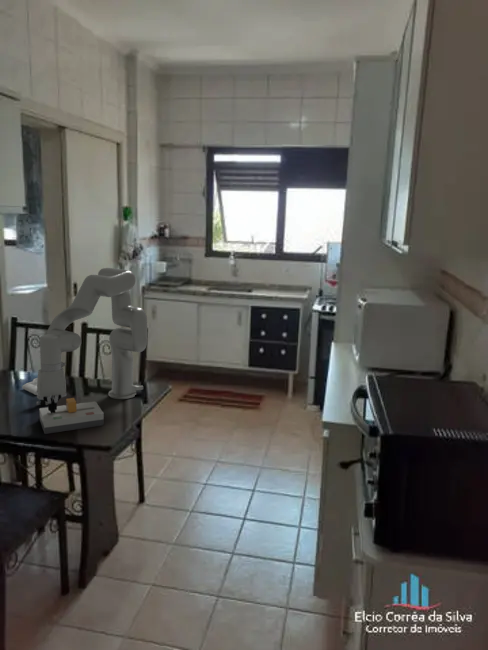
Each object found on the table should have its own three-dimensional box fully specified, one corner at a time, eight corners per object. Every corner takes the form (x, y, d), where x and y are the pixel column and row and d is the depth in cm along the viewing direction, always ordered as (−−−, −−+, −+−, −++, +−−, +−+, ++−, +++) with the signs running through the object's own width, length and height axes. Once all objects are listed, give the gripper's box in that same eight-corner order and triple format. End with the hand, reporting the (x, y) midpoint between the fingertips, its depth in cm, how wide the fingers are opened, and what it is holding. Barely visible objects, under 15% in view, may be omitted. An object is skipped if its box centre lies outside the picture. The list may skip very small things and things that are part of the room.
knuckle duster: (18, 388, 235) (47, 382, 247) (39, 398, 225) (68, 391, 236) (18, 382, 235) (47, 375, 246) (38, 391, 224) (68, 384, 235)
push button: (37, 407, 213) (37, 385, 211) (35, 403, 218) (34, 381, 216) (54, 405, 217) (53, 383, 215) (50, 401, 221) (50, 379, 219)
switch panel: (94, 410, 213) (94, 399, 212) (103, 425, 200) (103, 412, 198) (39, 418, 203) (38, 405, 202) (44, 433, 189) (44, 421, 188)
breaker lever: (74, 412, 202) (73, 397, 201) (76, 417, 198) (76, 402, 197) (66, 413, 201) (66, 398, 200) (68, 418, 197) (68, 403, 195)
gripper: (69, 362, 199) (70, 406, 202) (29, 365, 192) (30, 411, 195) (73, 367, 192) (74, 412, 196) (31, 371, 185) (33, 418, 189)
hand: (52, 411), depth 196 cm, fingers closed
